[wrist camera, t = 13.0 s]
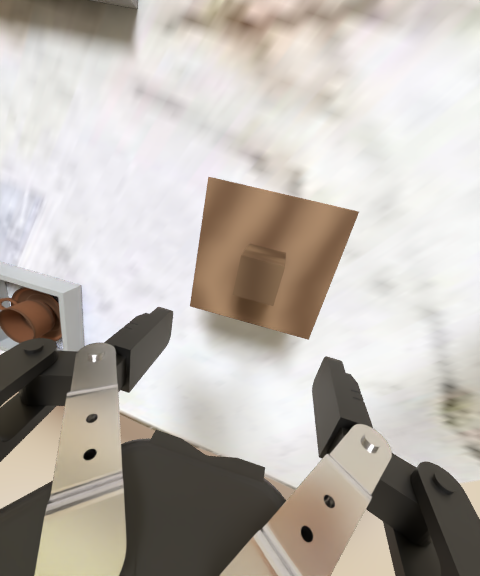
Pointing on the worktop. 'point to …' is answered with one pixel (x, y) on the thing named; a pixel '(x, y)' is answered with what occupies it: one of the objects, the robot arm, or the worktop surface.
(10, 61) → the worktop surface
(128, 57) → the worktop surface
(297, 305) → the walnut lid
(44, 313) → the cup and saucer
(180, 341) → the worktop surface
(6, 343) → the grey square tray
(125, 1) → the foil frame
